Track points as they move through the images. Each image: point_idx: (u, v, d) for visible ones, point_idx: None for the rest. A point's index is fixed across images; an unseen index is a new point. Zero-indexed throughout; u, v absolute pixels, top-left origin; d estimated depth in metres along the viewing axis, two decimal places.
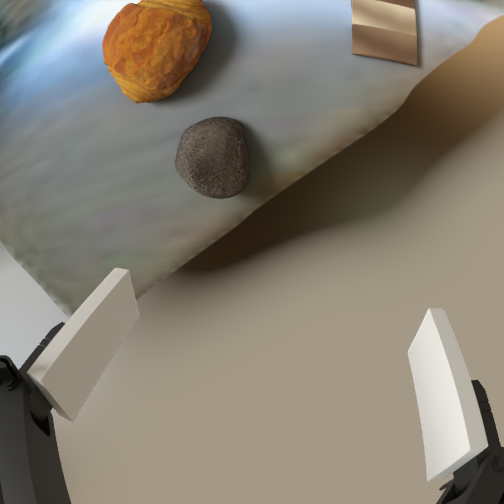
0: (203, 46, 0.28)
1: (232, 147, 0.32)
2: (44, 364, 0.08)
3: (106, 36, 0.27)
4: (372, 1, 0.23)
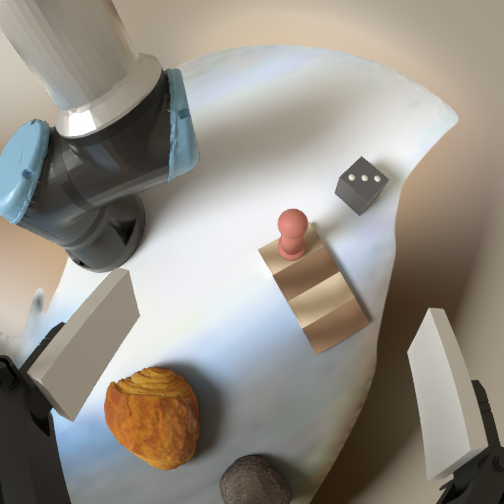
0: (197, 415, 0.34)
1: (266, 480, 0.30)
2: (44, 364, 0.08)
3: (108, 420, 0.33)
4: (305, 294, 0.39)
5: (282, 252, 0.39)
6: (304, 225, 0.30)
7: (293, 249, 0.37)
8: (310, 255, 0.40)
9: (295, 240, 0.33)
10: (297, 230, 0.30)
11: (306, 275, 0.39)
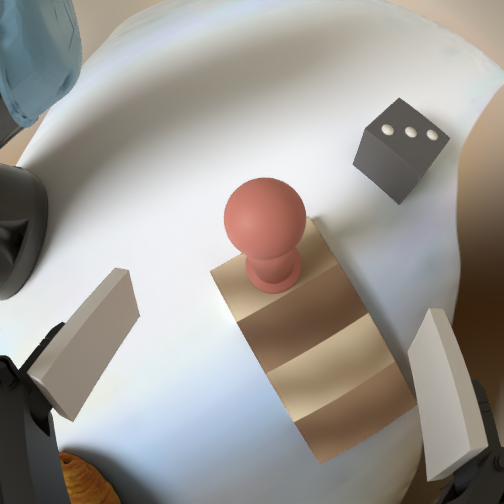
0: None
1: None
2: (44, 364, 0.08)
3: None
4: (300, 359, 0.19)
5: (253, 279, 0.19)
6: (294, 222, 0.11)
7: (274, 276, 0.17)
8: (311, 282, 0.20)
9: (273, 259, 0.13)
10: (275, 237, 0.10)
11: (302, 322, 0.19)
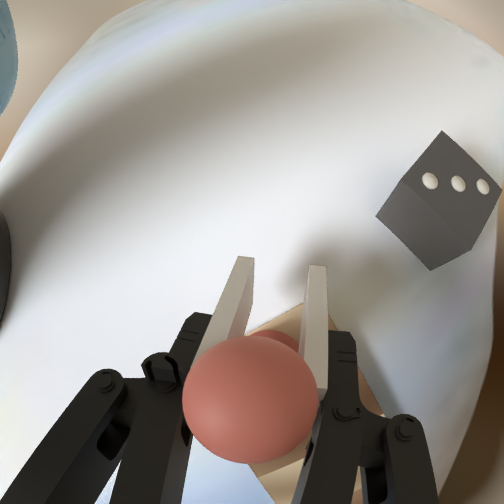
0: None
1: None
2: None
3: None
4: (298, 464, 0.14)
5: None
6: (298, 435, 0.05)
7: None
8: None
9: None
10: (263, 458, 0.05)
11: None
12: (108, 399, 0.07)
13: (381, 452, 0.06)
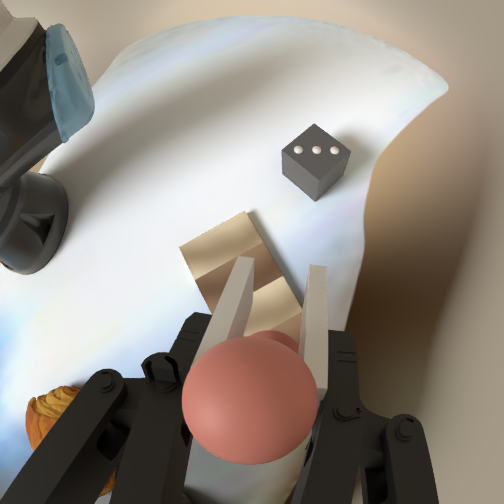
0: None
1: None
2: None
3: None
4: None
5: None
6: (297, 436, 0.05)
7: None
8: (243, 254, 0.31)
9: None
10: (263, 459, 0.05)
11: None
12: (108, 399, 0.07)
13: (381, 452, 0.06)
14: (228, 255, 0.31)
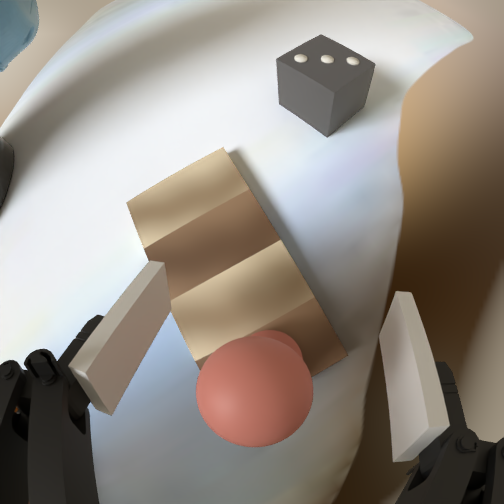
0: None
1: None
2: (87, 356, 0.08)
3: None
4: (202, 287, 0.18)
5: None
6: (295, 420, 0.06)
7: None
8: (219, 207, 0.19)
9: None
10: (266, 441, 0.06)
11: (206, 247, 0.19)
12: (11, 383, 0.07)
13: (489, 474, 0.05)
14: (194, 210, 0.19)
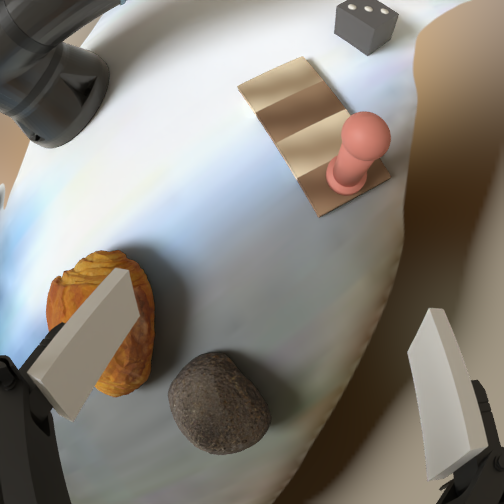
0: (150, 315, 0.26)
1: (228, 389, 0.24)
2: (44, 364, 0.08)
3: (48, 327, 0.27)
4: (299, 133, 0.27)
5: (333, 183, 0.25)
6: (387, 139, 0.16)
7: (355, 178, 0.22)
8: (305, 89, 0.27)
9: (366, 163, 0.18)
10: (378, 146, 0.16)
11: (300, 111, 0.27)
12: None
13: None
14: (289, 90, 0.27)
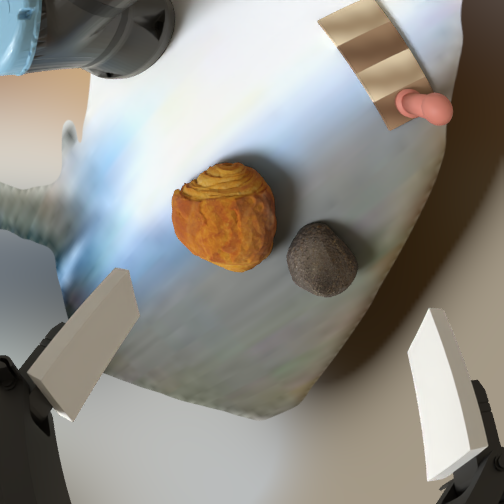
0: (274, 208, 0.37)
1: (333, 249, 0.38)
2: (44, 364, 0.08)
3: (179, 233, 0.40)
4: (374, 67, 0.28)
5: (402, 111, 0.29)
6: (451, 116, 0.21)
7: None
8: (376, 28, 0.25)
9: None
10: (445, 122, 0.21)
11: (373, 48, 0.27)
12: None
13: None
14: (363, 28, 0.26)
